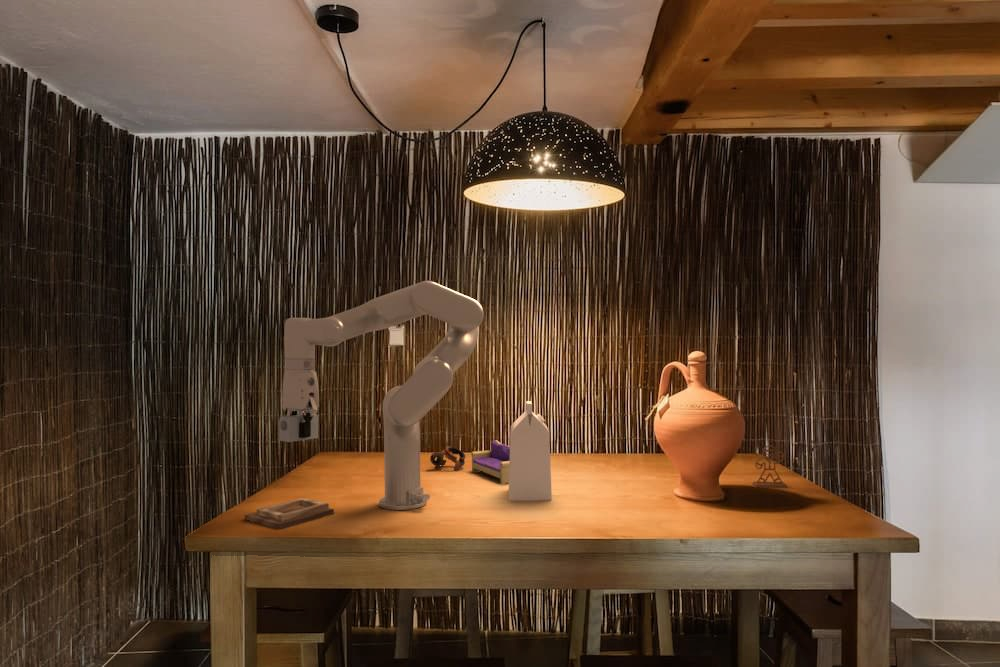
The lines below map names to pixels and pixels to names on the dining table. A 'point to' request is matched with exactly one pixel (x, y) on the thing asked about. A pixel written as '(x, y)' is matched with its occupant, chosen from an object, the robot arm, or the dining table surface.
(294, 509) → the jig
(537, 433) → the milk
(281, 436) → the grey rectangular block
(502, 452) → the toy sofa
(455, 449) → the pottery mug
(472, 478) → the dining table surface
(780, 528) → the dining table surface
